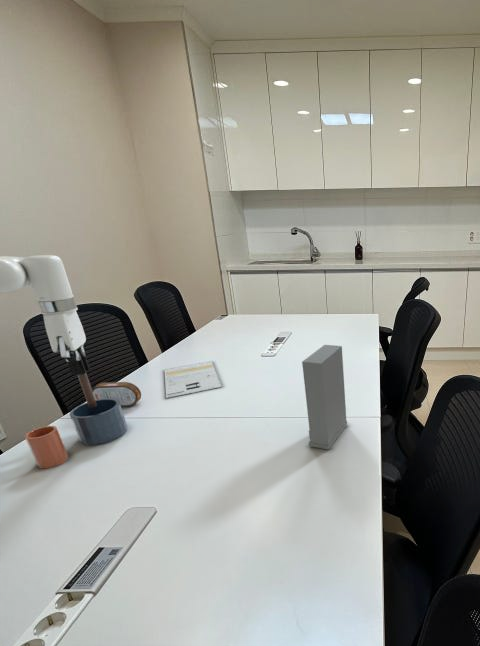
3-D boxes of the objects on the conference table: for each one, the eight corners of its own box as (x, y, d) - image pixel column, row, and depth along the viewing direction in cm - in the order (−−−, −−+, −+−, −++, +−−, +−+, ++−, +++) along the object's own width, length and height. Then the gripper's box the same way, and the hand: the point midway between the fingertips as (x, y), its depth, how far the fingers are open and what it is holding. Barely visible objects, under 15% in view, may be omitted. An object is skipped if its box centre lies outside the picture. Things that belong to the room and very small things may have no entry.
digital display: (211, 361, 168) (221, 386, 144) (211, 362, 168) (221, 386, 144) (164, 369, 161) (166, 397, 136) (164, 370, 161) (166, 398, 136)
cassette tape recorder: (328, 422, 118) (321, 344, 108) (347, 425, 116) (342, 345, 106) (308, 446, 106) (298, 361, 96) (328, 450, 104) (321, 363, 94)
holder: (33, 470, 99) (19, 440, 95) (45, 456, 105) (32, 428, 101) (62, 465, 101) (50, 436, 97) (72, 452, 106) (60, 424, 103)
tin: (144, 402, 134) (137, 380, 130) (140, 406, 131) (133, 384, 127) (99, 404, 133) (91, 382, 130) (94, 409, 130) (86, 386, 127)
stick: (87, 408, 109) (69, 354, 103) (90, 405, 111) (71, 352, 105) (95, 407, 110) (77, 354, 104) (98, 404, 112) (80, 351, 105)
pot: (73, 449, 108) (62, 420, 104) (88, 428, 118) (78, 401, 115) (122, 441, 111) (112, 413, 107) (132, 421, 122) (124, 395, 118)
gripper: (54, 301, 105) (76, 364, 112) (25, 314, 91) (52, 385, 98) (86, 299, 107) (105, 361, 114) (62, 311, 93) (86, 381, 100)
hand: (81, 372), depth 106 cm, fingers closed on stick, 2 cm apart
